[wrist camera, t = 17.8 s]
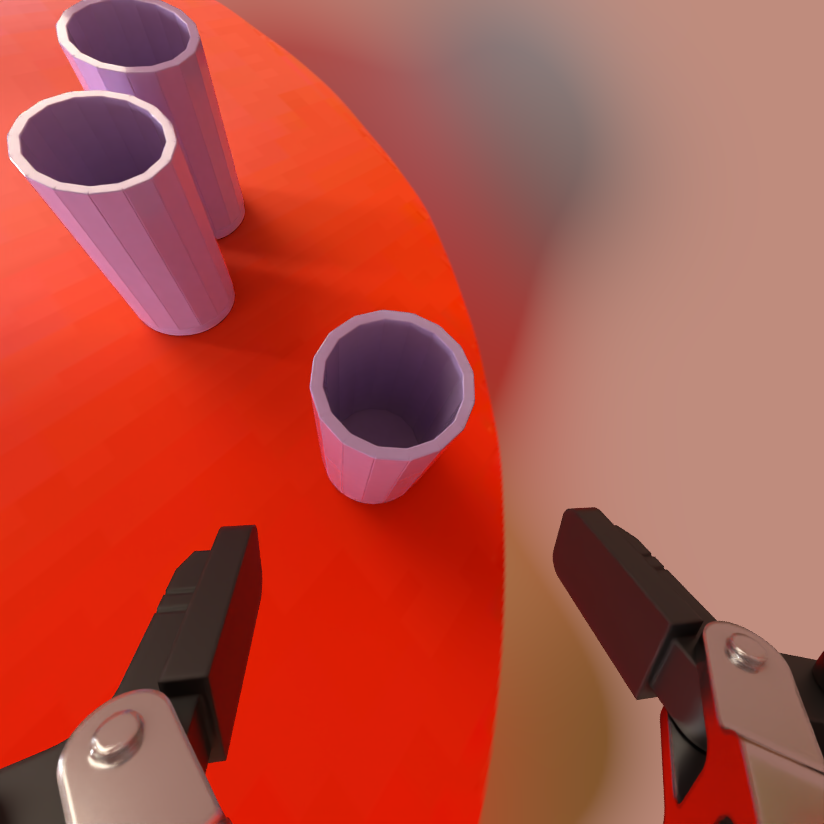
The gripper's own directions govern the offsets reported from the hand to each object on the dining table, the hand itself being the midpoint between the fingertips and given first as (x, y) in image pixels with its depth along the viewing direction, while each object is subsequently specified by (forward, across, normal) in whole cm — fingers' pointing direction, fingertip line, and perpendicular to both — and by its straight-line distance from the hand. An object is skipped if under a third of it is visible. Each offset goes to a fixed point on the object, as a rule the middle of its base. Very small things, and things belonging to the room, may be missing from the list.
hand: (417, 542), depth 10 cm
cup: (+25, +12, -8) cm, 29 cm away
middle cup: (+20, +12, -3) cm, 23 cm away
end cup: (+13, 0, +4) cm, 13 cm away
